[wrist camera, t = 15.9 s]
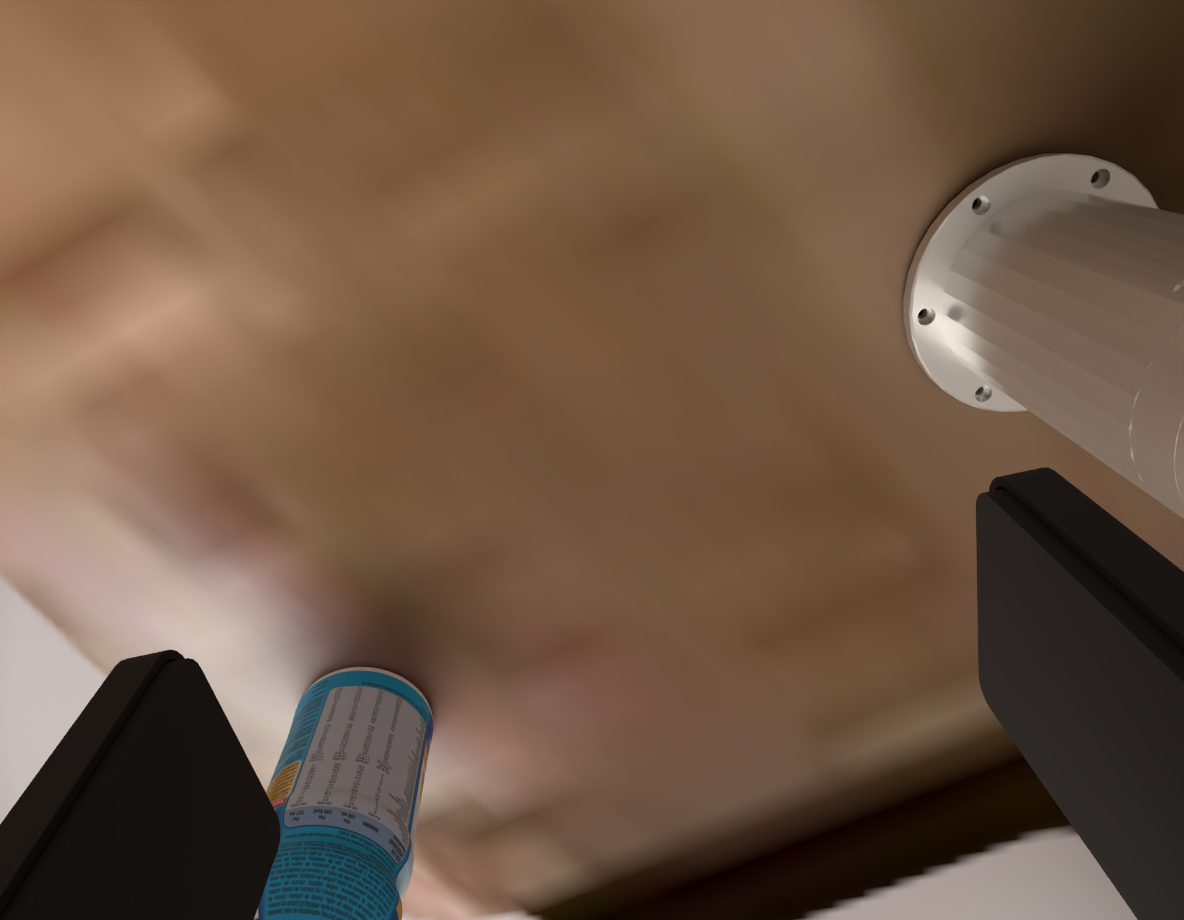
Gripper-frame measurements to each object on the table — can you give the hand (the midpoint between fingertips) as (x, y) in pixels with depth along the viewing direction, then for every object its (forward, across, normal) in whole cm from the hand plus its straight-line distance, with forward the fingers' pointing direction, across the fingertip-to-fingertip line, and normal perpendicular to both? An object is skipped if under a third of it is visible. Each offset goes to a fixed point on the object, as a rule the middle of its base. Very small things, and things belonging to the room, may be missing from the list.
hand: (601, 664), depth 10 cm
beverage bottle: (+32, +18, +26) cm, 45 cm away
